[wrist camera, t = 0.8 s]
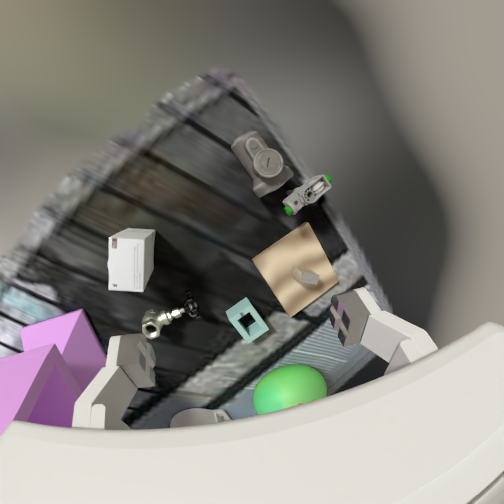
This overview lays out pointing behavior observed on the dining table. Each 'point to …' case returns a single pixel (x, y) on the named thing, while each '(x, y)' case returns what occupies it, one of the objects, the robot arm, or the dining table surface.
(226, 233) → the dining table surface
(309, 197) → the mechanical component
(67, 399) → the chair
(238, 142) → the pipe fitting
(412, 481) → the robot arm
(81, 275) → the dining table surface
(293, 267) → the steel key shaft
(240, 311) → the teal collar
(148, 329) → the valve
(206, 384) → the dining table surface
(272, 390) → the toy bird
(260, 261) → the oak plate
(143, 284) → the skincare box
